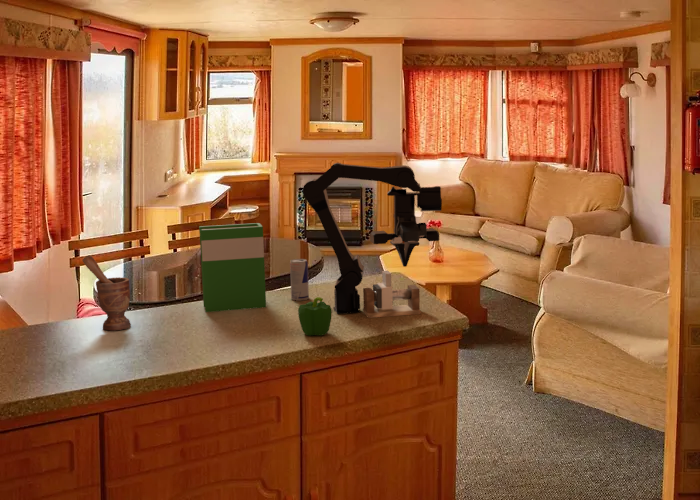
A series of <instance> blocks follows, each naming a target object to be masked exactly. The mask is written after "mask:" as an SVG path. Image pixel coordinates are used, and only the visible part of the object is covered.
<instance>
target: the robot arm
mask: <svg viewBox="0 0 700 500" xmlns="http://www.w3.org/2000/svg"><path fill="white" fill-rule="evenodd" d="M340 178H341V179H350V180H363V181H373V182H381V183H385V184H388V185H391V189H389V190H388V191H387V196H389V197H390V196H391V197H392V196H393V222H394V224H393V226H394V228H393V233H388V232H386V231H384V230H374V231H373V230H372V231H370V234H369V242H371V243H372V244H374V245H385V244H387V243H388V242H389V243H390V245H392V246H393V247H395V250H396V251H397V254H398V256H399V259H400V261H401V264H402V266H403V267H405V268H406V267H407V266H408V264H409V260H410V257H411V255H412V252H413V250H414V249H415V247H416V246H418V245H420V239H426V240H427V241H428V242H439V241H440V232H439V231H438V230H437V229H435V228H432V227H431V228H427V224H426V222H418V223H417V218H416V213H415V212H416V210H415V209H416V208H419V209H420V212H441V211H443V210H442V209H443V208H442V207H443V206H442V204H443V200H442V191H441V190H442V189H441V188H442V187H441V186H439V185H436V186H421V184H420V183H418V181H417V180H416V177H415V172H414V170H413V169H412V167H411V166H408V165H403V164H402V165H393V166H392V165H391V166H385V167H384V166H383V167H380V166H379V167H378V166H367V165H357V164H347V163H346V164H345V163H341V162H335V163H333V164H332V165H331V166H330V168H328V169H327V170H326V171H325V172H324V173H323V174H321V175H320V176H319V177H318V178H311V179H309V180H308V181H307V182H306V183H305V184H304V186H303V188H302V193H303V194H302V195H303V197H304V198H305V200H306V202H308V204H309V206H310V207H311V208H312V210H314V211H315V213H316V214H317V216H318V218H319V221H320V223H321V225H322V227H323V230H324V231H325V234H326V236H327V238H328V241H329V243H330V244H331V247H332V250H333V252H334V254H335V256H336V259H337V262H338V268H339V272H340V276H339V277H338V278H337V279H336V281H335V285H334V292H333V293H334V307H333V310H334V312H335V313H336V315H344V314H355V313H356V314H358V313H360V309H361V296H360V294H359V290H358V289H357V288H356V287H358V286H360V284H361V283H362V281H363V277H364V268H365V266H364V265H363V264H362V262H361V259H360V256H359V254H357V255H355V256H354V255H353V253H351V251H350V249H349V246H348V245H347V242H346V240H345V237H344V235H343V234H342V231H341V229H340V227H339V224H338V222H337V220H336V218H335V216H334V214H333V212H332V209H331V206H330V201H329V196H328V191H327V189H328V188H329V187H330V186H331V185H332V184H333V183H335V182H336V181H337V180H338V179H340ZM396 187H398V188H396ZM407 188H408V190H411V191H412V192H409V191H407ZM415 196H416V200H415ZM415 202H416V204H415ZM415 207H416V208H415Z"/></svg>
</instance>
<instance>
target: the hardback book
mask: <svg viewBox="0 0 700 500" xmlns="http://www.w3.org/2000/svg"><path fill="white" fill-rule="evenodd" d="M263 227H264V226H263V225H262V224H261V223H259V222H256V223H255V222H254V223H238V224H237V223H235V224H220V225H216V224H215V225H203V226H202V225H201V226H198V228H199V230H198V231H199V244H200V245H199V247H200V262H201V263H200V264H201V279H202V280H201V281H202V282H201V283H202V298H203V299H202V300H203V301H202V302H203V307H204V312H205V313H213V312H226V311H237V310H239V311H240V310H247V309H248V310H249V309H250V308H251V309H262V307H263V308H267V297H266V295H267V294H266V293H267V292H266V275H265V274H266V271H265V270H266V269H265V246H264V228H263Z"/></svg>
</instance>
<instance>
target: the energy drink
mask: <svg viewBox="0 0 700 500" xmlns="http://www.w3.org/2000/svg"><path fill="white" fill-rule="evenodd" d="M289 268H290V297H291V300H292V301H295V300H296V301H298V302H301V301H302V302H303V301H307V300H308V299H309V298H310V297H309V296H310V293H309V291H310V287H309V263H308V260H307V258H306V259H305V258H294V259H290V262H289Z"/></svg>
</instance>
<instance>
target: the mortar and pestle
mask: <svg viewBox="0 0 700 500" xmlns="http://www.w3.org/2000/svg"><path fill="white" fill-rule="evenodd" d="M82 263H83V264H84V265H85V267H86V268H87V269H88V270H89V271H90V272H91V273H92V274H93V275H94V276H95V277H96V279H98V280H96V281H95V286H96V291H97V292H96V294H97V301H98V305H99V307H100V308H101V310H102V312H104V313H105V314H106V315H107V318H106V319H105V320H104V321H103V323H102V330H104V331H121V330H126V329H127V328H129V329H130V328H131V327H132V326H131V325H132V323H131V320H130V319H129V318H127V316H125V313H126V310H128V308H129V306H130V301H131V290H130V278H128V277H107V276H106V275H105V274H104V272H103V271H102V269H101V267H100V266H99V264H98V262H97V261H96V259H94V257H93V256H92V255H87V256H85V257H84V258H82ZM127 330H128V329H127Z"/></svg>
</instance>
